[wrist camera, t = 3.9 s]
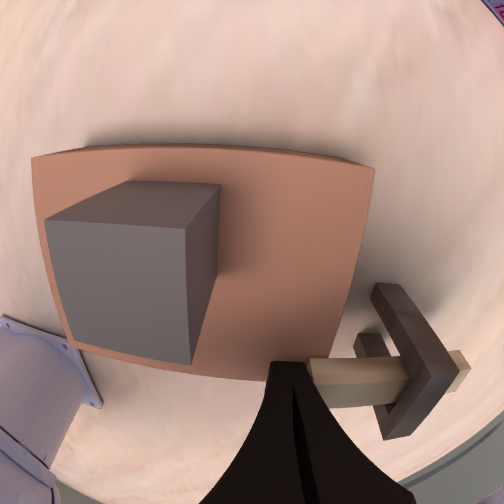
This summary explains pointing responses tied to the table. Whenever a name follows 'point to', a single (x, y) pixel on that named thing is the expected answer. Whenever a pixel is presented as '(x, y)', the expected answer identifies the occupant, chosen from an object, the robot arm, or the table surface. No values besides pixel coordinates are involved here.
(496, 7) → the ink cartridge box
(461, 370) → the tan rectangular bar
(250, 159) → the lid
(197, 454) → the table surface
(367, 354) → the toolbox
